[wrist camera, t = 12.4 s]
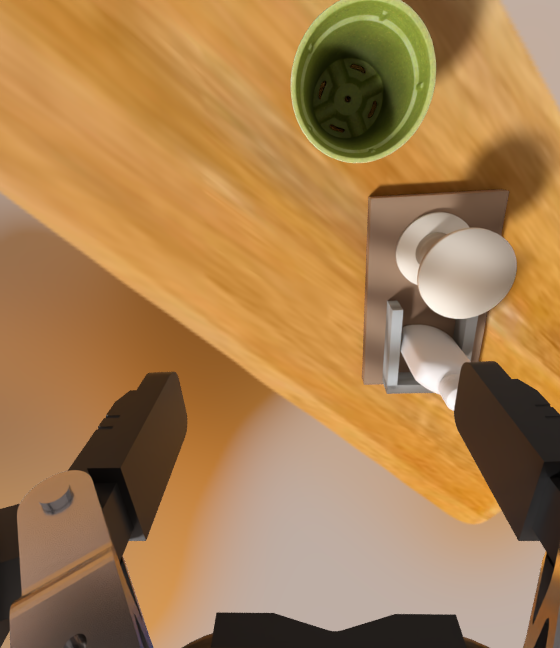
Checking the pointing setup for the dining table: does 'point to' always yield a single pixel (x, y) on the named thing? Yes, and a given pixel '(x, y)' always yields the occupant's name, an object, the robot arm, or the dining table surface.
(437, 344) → the eye dropper bottle
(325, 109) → the plant pot
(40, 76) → the dining table surface
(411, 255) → the board
